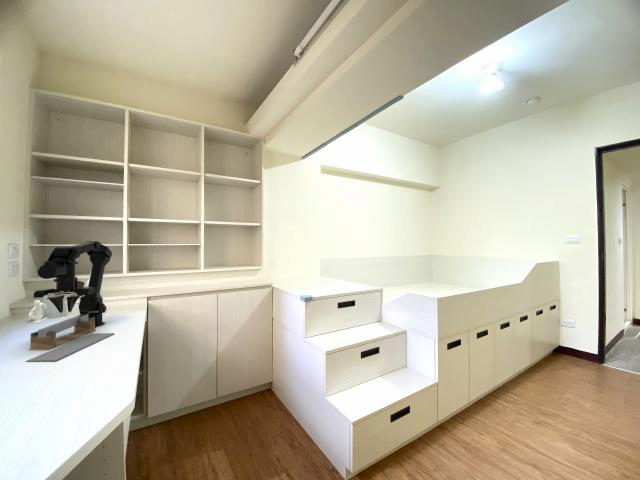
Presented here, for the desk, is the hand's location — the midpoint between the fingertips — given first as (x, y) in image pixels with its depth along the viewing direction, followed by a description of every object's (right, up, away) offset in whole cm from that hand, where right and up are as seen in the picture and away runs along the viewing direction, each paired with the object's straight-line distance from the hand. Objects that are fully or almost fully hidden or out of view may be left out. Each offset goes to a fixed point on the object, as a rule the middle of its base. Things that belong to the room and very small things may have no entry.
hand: (65, 312), depth 107 cm
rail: (0, -7, 0) cm, 7 cm away
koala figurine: (-39, -13, +24) cm, 47 cm away
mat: (+11, -12, -7) cm, 18 cm away
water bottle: (-26, -13, +41) cm, 50 cm away
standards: (0, -12, 0) cm, 12 cm away
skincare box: (-39, -13, +33) cm, 53 cm away
